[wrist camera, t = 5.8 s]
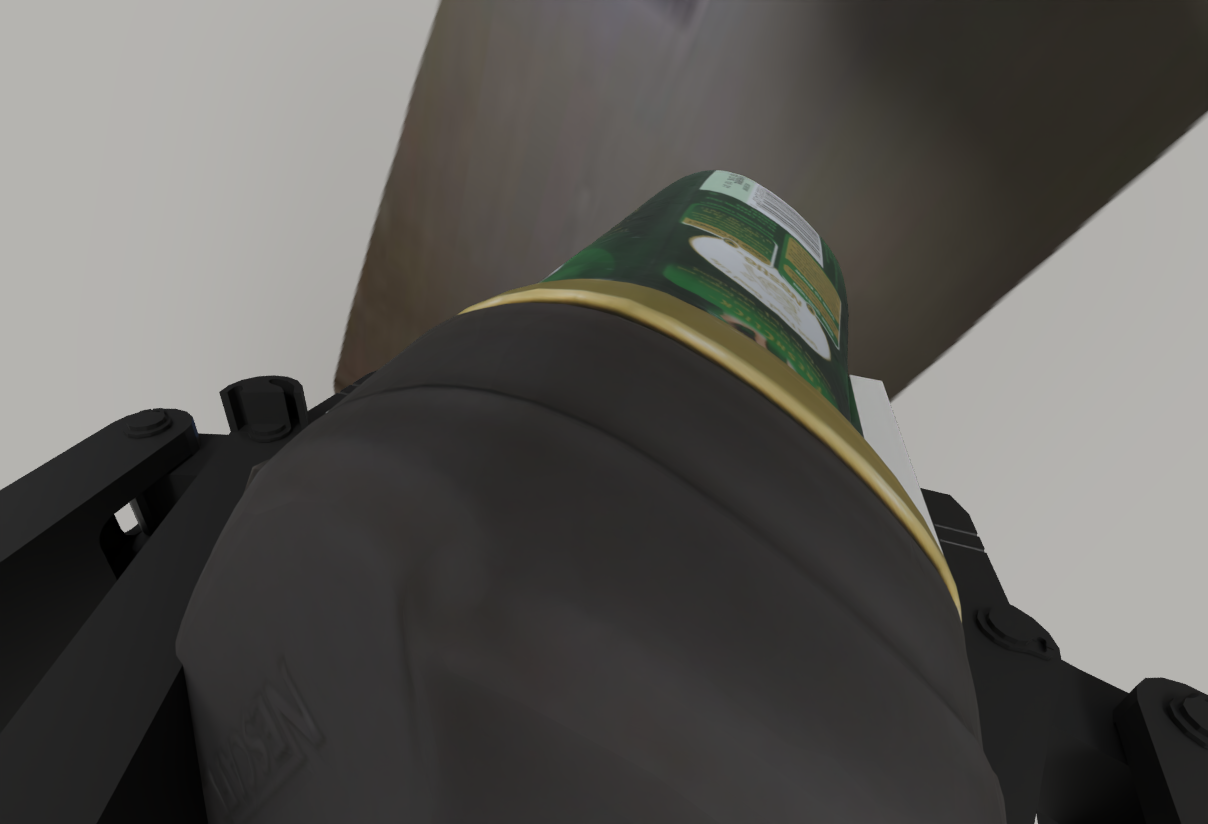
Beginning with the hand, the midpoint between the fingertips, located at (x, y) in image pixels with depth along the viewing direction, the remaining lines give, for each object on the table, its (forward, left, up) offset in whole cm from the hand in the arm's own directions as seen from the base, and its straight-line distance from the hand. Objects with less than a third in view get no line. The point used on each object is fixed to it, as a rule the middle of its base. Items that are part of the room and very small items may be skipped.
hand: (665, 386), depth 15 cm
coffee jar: (0, 0, -7) cm, 7 cm away
